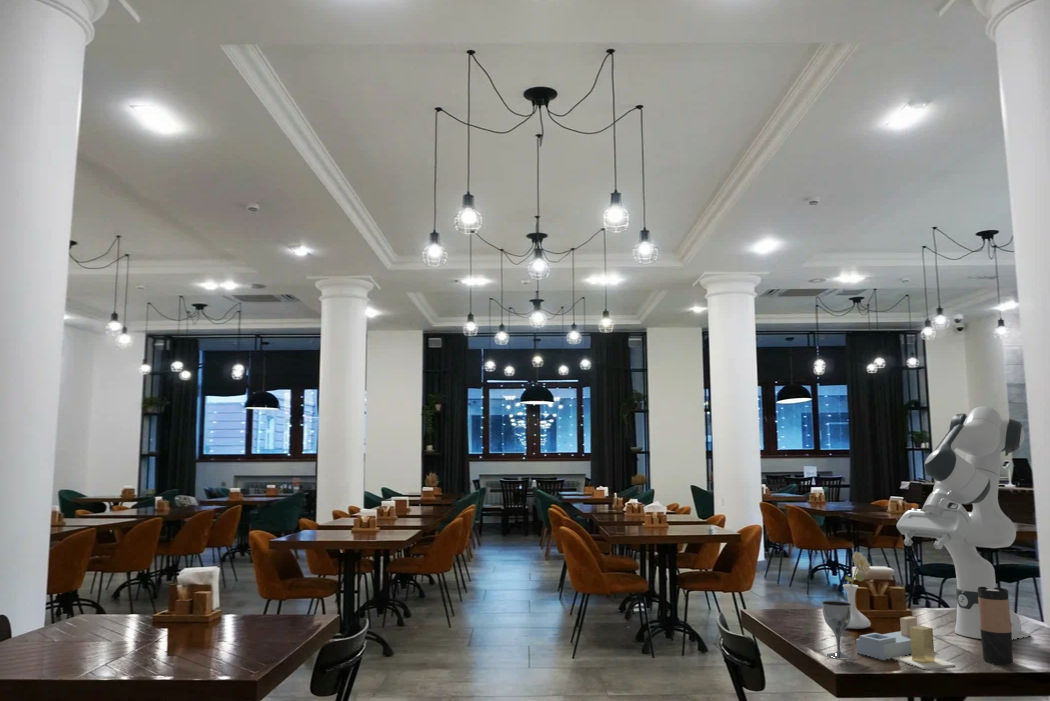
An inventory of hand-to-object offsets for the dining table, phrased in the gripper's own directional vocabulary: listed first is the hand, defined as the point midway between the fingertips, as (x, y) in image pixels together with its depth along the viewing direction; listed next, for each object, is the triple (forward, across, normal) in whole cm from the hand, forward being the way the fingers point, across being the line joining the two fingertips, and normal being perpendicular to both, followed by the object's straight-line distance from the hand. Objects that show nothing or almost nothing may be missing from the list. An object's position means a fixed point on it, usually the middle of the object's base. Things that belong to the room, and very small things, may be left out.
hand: (921, 546), depth 229 cm
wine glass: (+38, -14, +7) cm, 41 cm away
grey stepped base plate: (+25, -9, +20) cm, 33 cm away
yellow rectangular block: (+27, +3, +16) cm, 32 cm away
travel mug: (+14, +13, +31) cm, 36 cm away
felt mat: (+27, +3, +17) cm, 32 cm away
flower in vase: (+12, -36, +32) cm, 50 cm away
